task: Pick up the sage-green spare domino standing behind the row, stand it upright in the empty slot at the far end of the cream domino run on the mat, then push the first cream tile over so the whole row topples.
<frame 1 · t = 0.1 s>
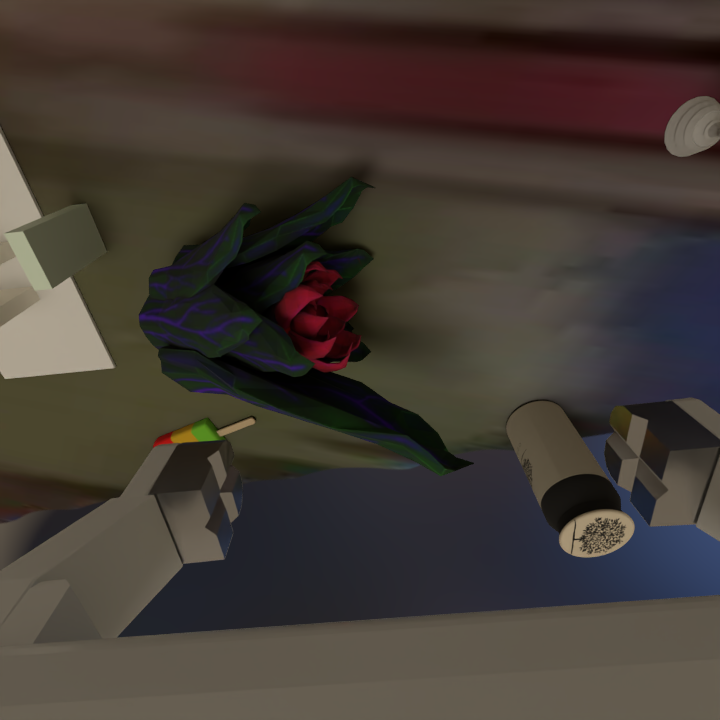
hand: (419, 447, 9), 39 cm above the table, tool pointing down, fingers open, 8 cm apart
travel mug: (534, 421, 60), on the table
popsicle: (209, 432, 61), on the table
chalice: (691, 127, 41), on the table
decorative plant: (312, 278, 48), on the table
domino 4: (14, 295, 48), resting on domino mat
spare domino: (89, 229, 45), on the table
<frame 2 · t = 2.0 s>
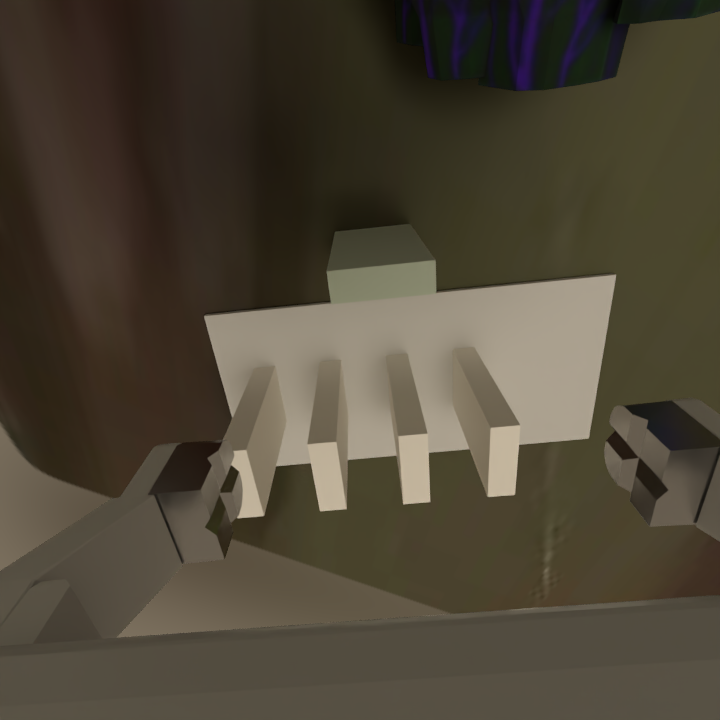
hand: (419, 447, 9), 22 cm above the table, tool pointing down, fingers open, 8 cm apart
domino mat: (410, 379, 34), on the table
domino 2: (334, 389, 34), resting on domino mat
domino 3: (398, 383, 34), resting on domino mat
domino 4: (463, 377, 34), resting on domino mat
spare domino: (373, 239, 29), on the table
domino 1: (271, 395, 34), resting on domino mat
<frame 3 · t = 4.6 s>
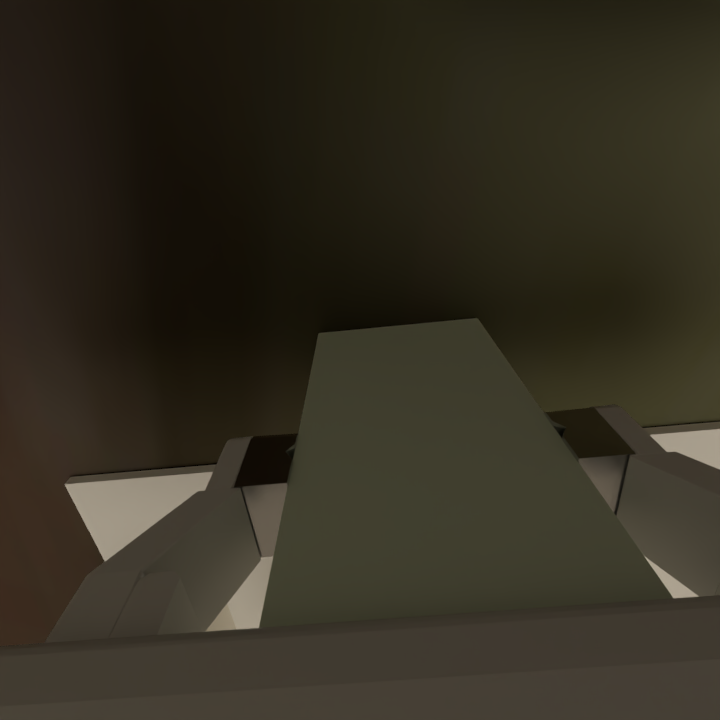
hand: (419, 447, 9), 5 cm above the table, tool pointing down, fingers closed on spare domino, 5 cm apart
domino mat: (460, 574, 19), on the table
spare domino: (398, 348, 14), on the table, touching gripper
domino 1: (207, 601, 19), resting on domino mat
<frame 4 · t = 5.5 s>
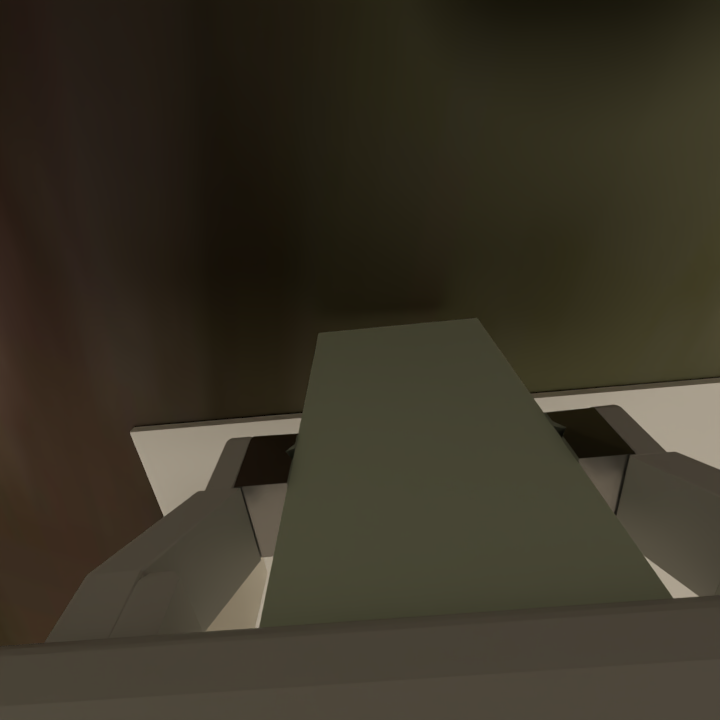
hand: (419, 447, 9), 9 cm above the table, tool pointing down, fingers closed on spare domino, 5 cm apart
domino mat: (459, 518, 22), on the table
spare domino: (398, 348, 14), point 3 cm above the table, touching gripper
domino 1: (242, 540, 22), resting on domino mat
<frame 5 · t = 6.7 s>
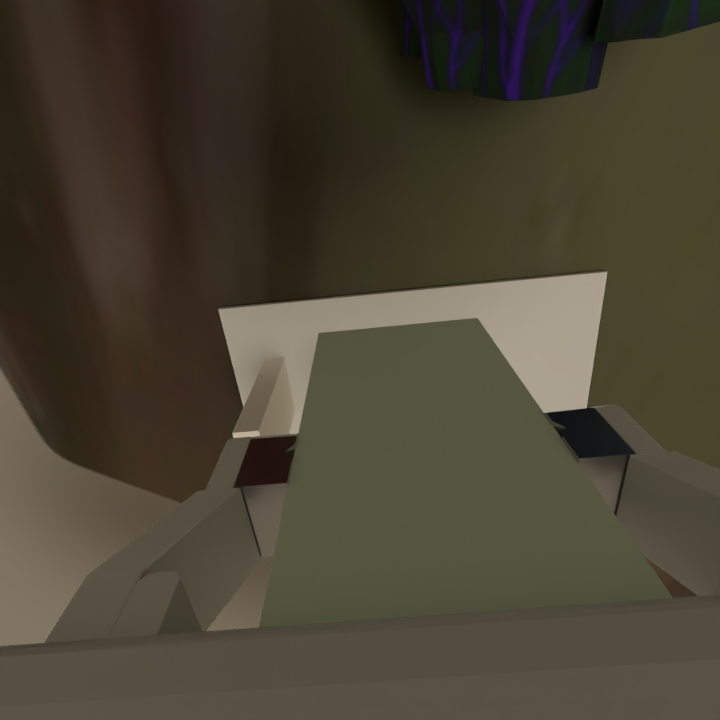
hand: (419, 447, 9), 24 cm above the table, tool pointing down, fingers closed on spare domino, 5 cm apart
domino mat: (412, 371, 36), on the table
spare domino: (399, 348, 14), point 19 cm above the table, touching gripper
domino 1: (280, 385, 36), resting on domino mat
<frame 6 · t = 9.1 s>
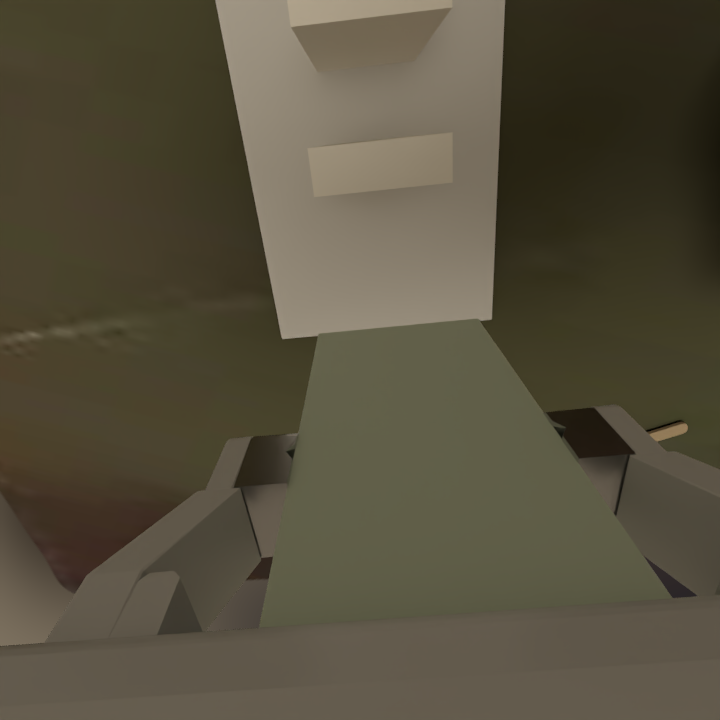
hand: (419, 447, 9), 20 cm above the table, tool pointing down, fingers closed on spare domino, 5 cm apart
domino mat: (365, 72, 23), on the table
popsicle: (579, 448, 35), on the table
domino 3: (364, 47, 22), resting on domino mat
domino 4: (372, 156, 24), resting on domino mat
spare domino: (399, 349, 14), point 15 cm above the table, touching gripper
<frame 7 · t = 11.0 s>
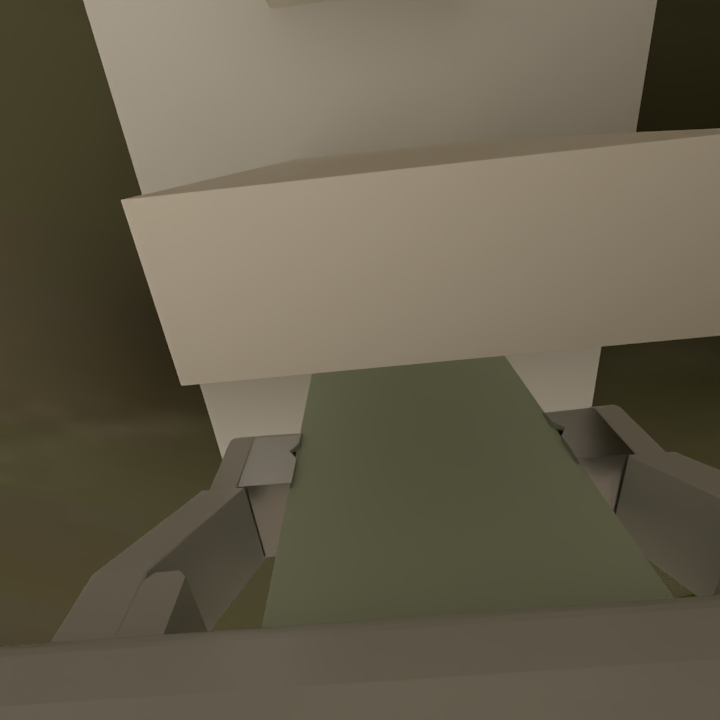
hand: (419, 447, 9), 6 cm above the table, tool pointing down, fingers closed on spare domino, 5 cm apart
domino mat: (371, 10, 11), on the table
domino 4: (384, 180, 12), resting on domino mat
spare domino: (400, 349, 14), point 1 cm above the table, touching gripper
when the fingers open (6 cm above the table, at t = 11.3 s): spare domino moves 1 cm and tips over, resting on domino 4, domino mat.
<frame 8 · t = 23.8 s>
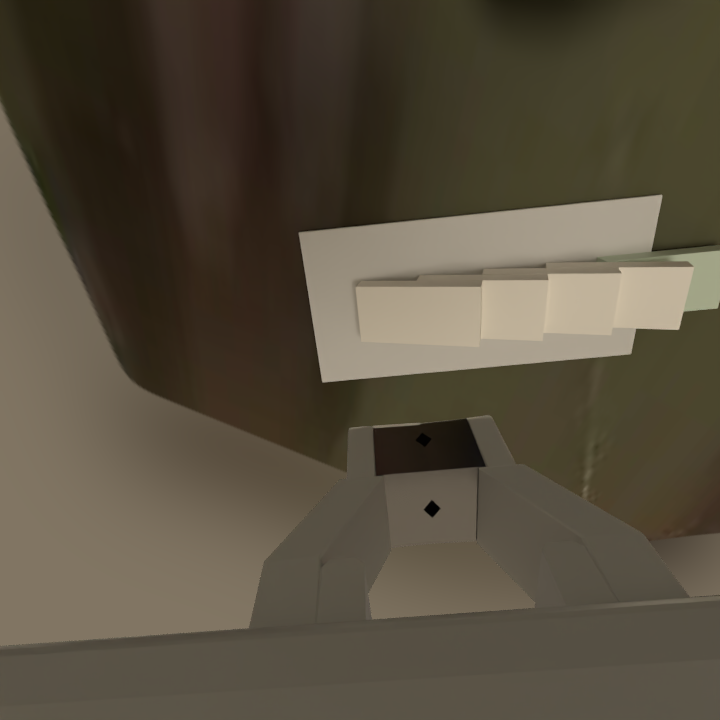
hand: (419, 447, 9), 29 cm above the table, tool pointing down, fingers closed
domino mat: (475, 296, 38), on the table
domino 2: (419, 306, 37), point 1 cm above the table, tilted 72°, touching domino 1, domino 3, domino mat
domino 3: (482, 299, 37), point 1 cm above the table, tilted 71°, touching domino 2, domino 4, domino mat
domino 4: (543, 294, 37), point 1 cm above the table, tilted 70°, touching domino 3, spare domino
spare domino: (597, 288, 37), point 1 cm above the table, tilted 90°, touching domino 4, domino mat
domino 1: (361, 311, 38), point 1 cm above the table, tilted 71°, touching domino 2, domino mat
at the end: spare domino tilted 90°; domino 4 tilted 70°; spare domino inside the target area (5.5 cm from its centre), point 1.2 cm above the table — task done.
